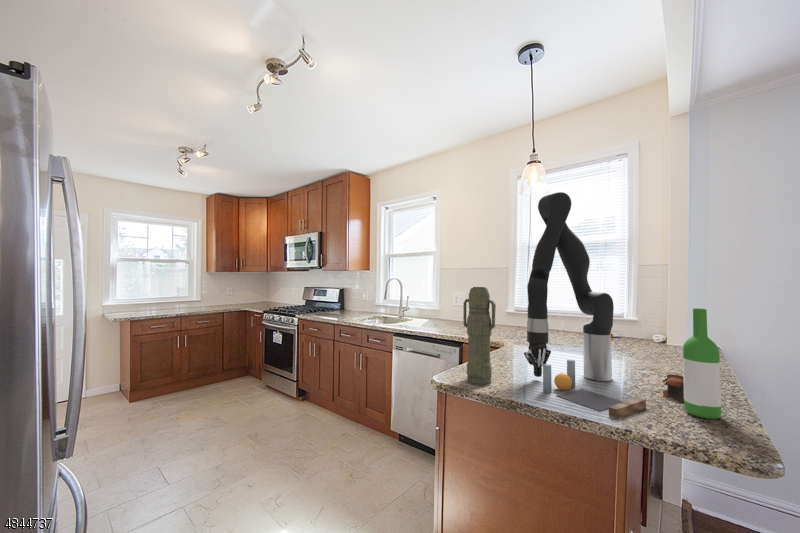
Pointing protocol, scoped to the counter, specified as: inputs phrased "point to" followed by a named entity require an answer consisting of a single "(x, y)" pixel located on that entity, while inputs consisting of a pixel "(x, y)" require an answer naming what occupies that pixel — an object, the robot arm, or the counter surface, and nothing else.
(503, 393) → the counter surface
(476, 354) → the thermos
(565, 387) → the ball
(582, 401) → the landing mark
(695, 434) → the counter surface
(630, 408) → the wall
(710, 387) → the wine bottle
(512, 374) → the counter surface
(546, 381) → the post
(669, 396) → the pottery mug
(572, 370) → the post
